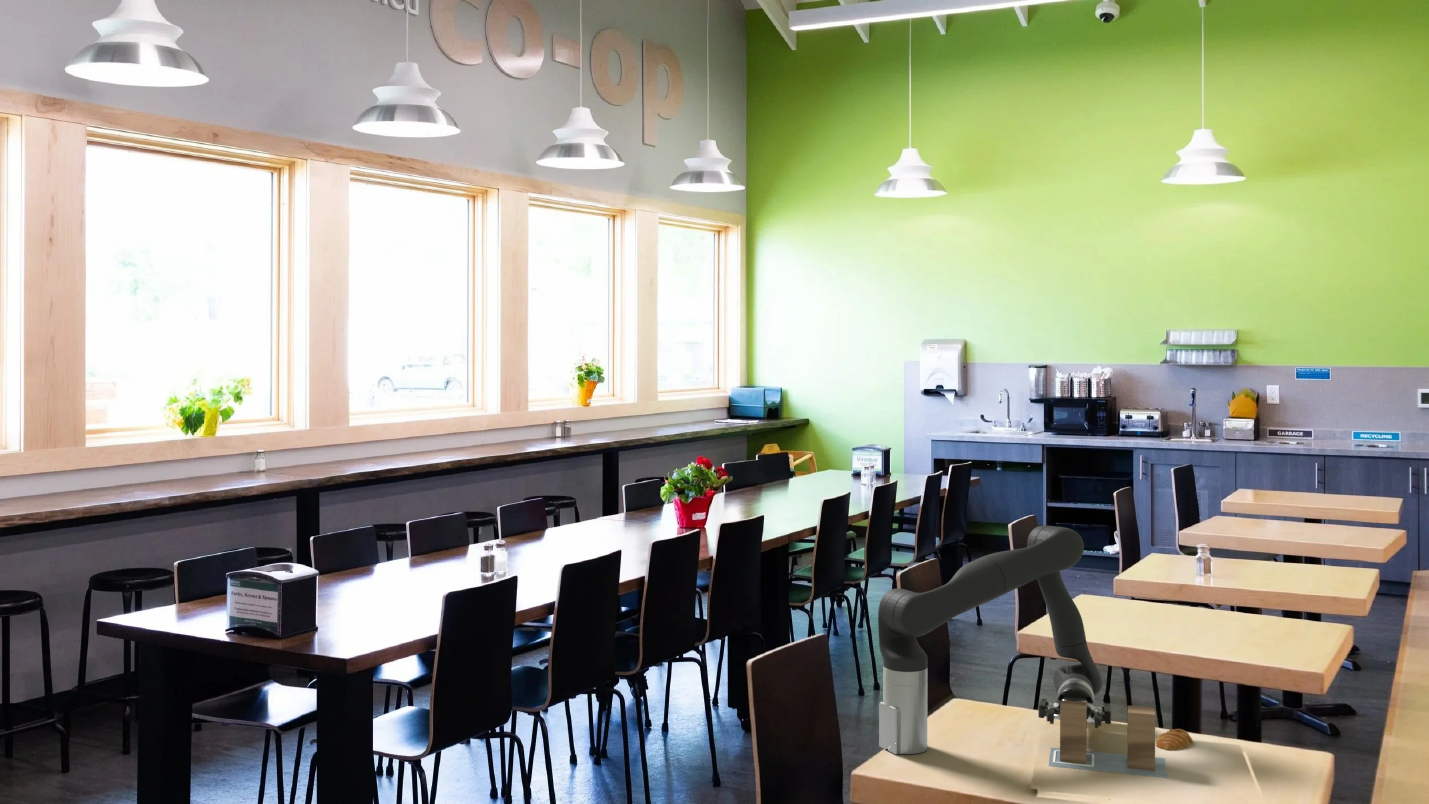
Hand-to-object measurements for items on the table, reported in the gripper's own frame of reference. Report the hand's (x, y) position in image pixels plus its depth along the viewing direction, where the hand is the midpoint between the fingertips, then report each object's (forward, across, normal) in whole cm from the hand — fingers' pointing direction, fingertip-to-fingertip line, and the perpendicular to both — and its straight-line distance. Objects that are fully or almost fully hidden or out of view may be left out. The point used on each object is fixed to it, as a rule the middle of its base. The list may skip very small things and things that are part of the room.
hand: (1073, 721), depth 232 cm
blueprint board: (-1, +6, +9) cm, 11 cm away
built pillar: (-1, +13, +8) cm, 15 cm away
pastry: (-17, +20, +10) cm, 28 cm away
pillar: (-1, 0, +8) cm, 8 cm away
